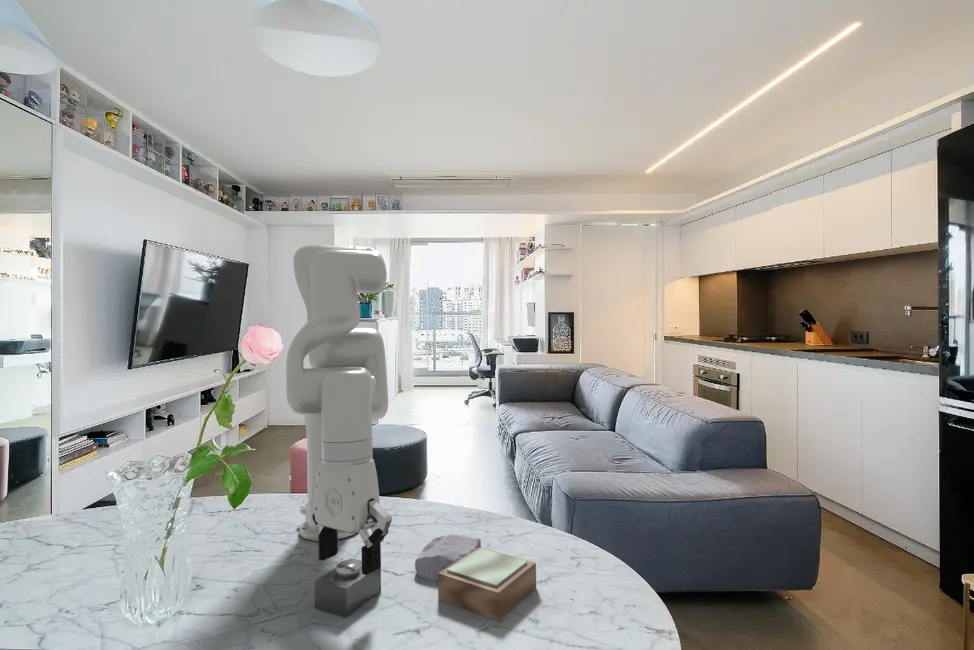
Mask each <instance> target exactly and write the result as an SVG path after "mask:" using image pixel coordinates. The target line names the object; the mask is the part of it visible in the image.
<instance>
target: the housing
mask: <svg viewBox="0 0 974 650" xmlns="http://www.w3.org/2000/svg"><path fill="white" fill-rule="evenodd" d="M336 564H337V565H336V567H334V568H332V569H331V570H330V571H328V572H326V573H325V574H323V575H321V576H320V577H318V578H316V579H315V580H314V610H318V611H321V612H325V613H328V614H332V615H334V616H336V617H337V616H338V617H341V618H345V619H347V618H349V617H351V616H352V615H353V614H354V613H355V612H356V611H359V610H360V608H362V607H364V606H365V605H366V604H367V603H369V602H371V600H372V599H374V598H376V596H378V595H379V594H381V593H382V566H381V567H380V568H379V569H377V570H375V571H374V572H372V573H370V574H368V575H364V574H362V560H359V559H355V558H349V559H346V560H343V561H340V562H339V563H336Z"/></svg>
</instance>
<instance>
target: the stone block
mask: <svg viewBox="0 0 974 650" xmlns="http://www.w3.org/2000/svg"><path fill="white" fill-rule="evenodd" d="M481 540H482V539H481V538H480V537H477V538H476V537H473V536H469V535H465V534H453V533H451V534H448V535H441V536H439V537H435V538H432V539H431V540H430V542H429V543H427V544H426V545H425V546H424V547H423V549H422V550H421V553H419V554H418V555H417V557H416V558H415V562H414V567H415V571H416V574H417V576H418V577H419V578H422V579H426V580H430V581H438V573H439V572H440V571H442V570H444V569H445V568H447V567H448V566H450V565H452V564H453V563H455V562H456V561H458V560H460V559H461V558H463V557H464V556H466V555H468V554H469V553H471V552H472V551H474V550H476V549H477V548H479V547H480V548H482V546H481V545H482V542H481Z"/></svg>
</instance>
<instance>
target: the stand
mask: <svg viewBox="0 0 974 650" xmlns="http://www.w3.org/2000/svg"><path fill="white" fill-rule="evenodd" d="M536 589H537V563H536V561H535V562H534V561H532V560H528V559H524V558H520V557H516V556H512V555H510V554H509V555H508V554H505V553H501V552H499V551H494V550H491V549H487V548H483V547H481V548H480V547H479V548H477V549H476V550H474V551H472V552H471V553H469V554H468V555H466V556H464V557H463V558H461V559H460V560H458V561H456V562H455V563H453V564H452V565H450V566H448V567H447V568H445V569H444V570H442V571H440V572H439V573H438V580H437V596H438V600H439V601H442V602H445V603H448V604H449V605H450V604H451V605H453V606H455V607H459V608H461V609H464V610H466V611H469V612H472V613H475V614H477V615H480V616H483V617H486V618H489V619H491V620H494V621H496V620H497V621H496V622H501V620H502V619H503V618H504V617H506V616H507V615H508V614H510V612H511V611H512V610H514V608H516V607H517V606H518V605H519V604H520V603H521V602H523V600H525V599H526V598H527V597H528V596H530V594H531V593H533V592H534V591H535V590H536Z"/></svg>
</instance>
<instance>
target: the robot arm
mask: <svg viewBox="0 0 974 650" xmlns="http://www.w3.org/2000/svg"><path fill="white" fill-rule="evenodd" d="M293 272H294V278H295V282H296V285H297V288H298V290H299V293H300V295H301V298H302V301H303V303H304V306H305V309H306V317H307V322H306V323H305V324H304V326H302V327H301V328H300V330H299V331H297V333H296V335H295V336H294V337H293V339H292V341H291V342H290V345H289V348H288V350H287V354H286V361H285V362H286V366H285V369H286V370H285V371H286V373H285V374H286V375H285V376H286V378H285V379H286V382H285V383H286V384H285V385H286V387H285V388H286V389H285V390H286V401H287V403H288V406H289V409H291V411H293V413H295V414H298V415H303V416H304V423H305V433H306V454H307V455H306V458H307V460H306V462H307V463H306V465H307V475H306V476H307V478H306V480H307V481H306V482H307V502H306V504H305V506H304V507H300V510H299V513H300V514H302V515H304V516H305V522H303V523H302V524H301V526H300V527H299V535H300V536H301V537H302V538H304V539H305V540H308V541H309V540H310V541H313V542H315V541H316V542H318V560H319V561H322V562H323V561H325V560H327V559H330V558H332V557H335V556H336V555H337V554H338V550H339V546H338V540H341V539H345V538H348V537H351V536H353V535H356V534H357V533H358V534H359V536H360V539H361V540H362V542H363V544H364V545H363V546H361V561H362V574H364V575H368V574H370V573H372V572H374V571H375V570H377V569H379V568H380V567H381V568H382V552H381V551H382V550H381V549H382V548H381V547H382V546H381V545H382V544H381V543H382V542H383V541H384V540H385V537H386V536H387V535H388V533H389V529H390V526H391V524H392V521H393V517H392V515H391V513H388V512H387V510H386V509H385V508H383V506H381V504H380V489H379V481H378V480H379V479H378V474H377V468H376V463H375V459H373V454H374V453H373V421H377V420H381V419H383V418H384V417H385V416H386V414H387V412H388V408H389V388H388V376H387V375H388V374H387V363H386V361H387V360H386V359H387V358H386V349H385V342H384V339H383V336H382V335H381V333H380V332H379V331H378V329H375V328H370V327H358V326H359V323H360V320H361V312H360V305H359V296H358V294H379V293H381V292H383V291H384V289H385V287H386V285H387V276H388V275H387V266H386V263H385V260H384V258H383V256H382V254H381V253H380V252H379V251H378V250H376V249H375V248H373V247H369V246H352V245H351V246H350V245H333V244H313V245H311V244H310V245H306V246H301V247H299V248H298V249H297V250H295V253H294V255H293ZM307 356H308V360H309V361H308V362H309V364H310V366H311V367H309V368H305V367H304V360H305V358H306V357H307ZM369 529H370V530H371V532H372V533H371V534H370V533H369V532H368V530H369Z"/></svg>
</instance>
